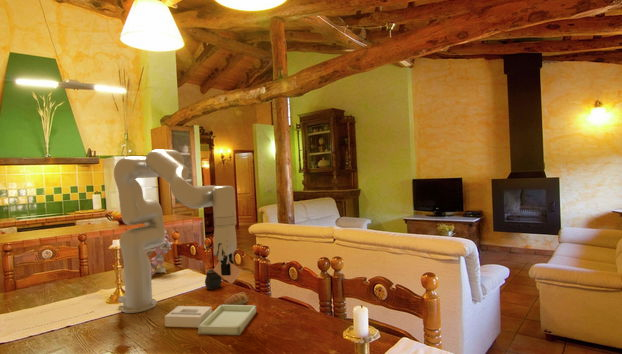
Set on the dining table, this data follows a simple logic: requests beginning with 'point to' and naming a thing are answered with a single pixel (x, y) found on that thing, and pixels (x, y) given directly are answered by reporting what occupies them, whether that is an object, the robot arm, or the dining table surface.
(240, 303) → the pastry
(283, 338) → the dining table surface
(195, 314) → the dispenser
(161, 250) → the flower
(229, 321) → the tray
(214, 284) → the mate gourd
